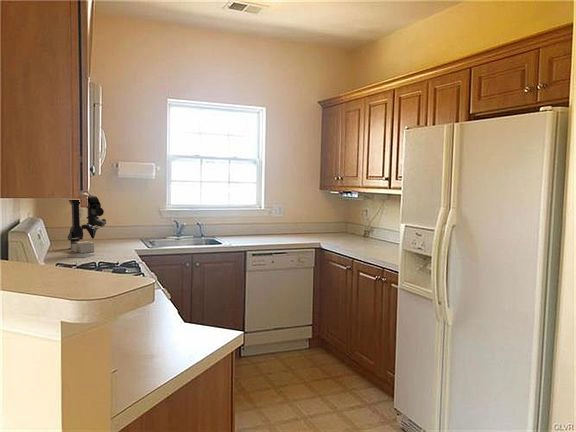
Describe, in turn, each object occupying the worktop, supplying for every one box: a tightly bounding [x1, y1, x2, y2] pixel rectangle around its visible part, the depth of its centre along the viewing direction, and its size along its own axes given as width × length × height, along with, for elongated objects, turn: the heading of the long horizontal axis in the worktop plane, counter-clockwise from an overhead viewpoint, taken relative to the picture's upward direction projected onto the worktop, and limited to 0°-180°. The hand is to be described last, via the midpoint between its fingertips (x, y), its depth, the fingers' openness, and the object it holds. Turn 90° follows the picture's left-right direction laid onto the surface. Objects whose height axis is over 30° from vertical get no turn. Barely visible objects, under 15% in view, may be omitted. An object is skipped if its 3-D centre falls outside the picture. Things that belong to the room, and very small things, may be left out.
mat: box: [67, 253, 96, 259], centre depth 313 cm, size 12×12×1 cm
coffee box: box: [70, 240, 95, 254], centre depth 331 cm, size 9×6×16 cm
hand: (92, 238), depth 326 cm, fingers closed
